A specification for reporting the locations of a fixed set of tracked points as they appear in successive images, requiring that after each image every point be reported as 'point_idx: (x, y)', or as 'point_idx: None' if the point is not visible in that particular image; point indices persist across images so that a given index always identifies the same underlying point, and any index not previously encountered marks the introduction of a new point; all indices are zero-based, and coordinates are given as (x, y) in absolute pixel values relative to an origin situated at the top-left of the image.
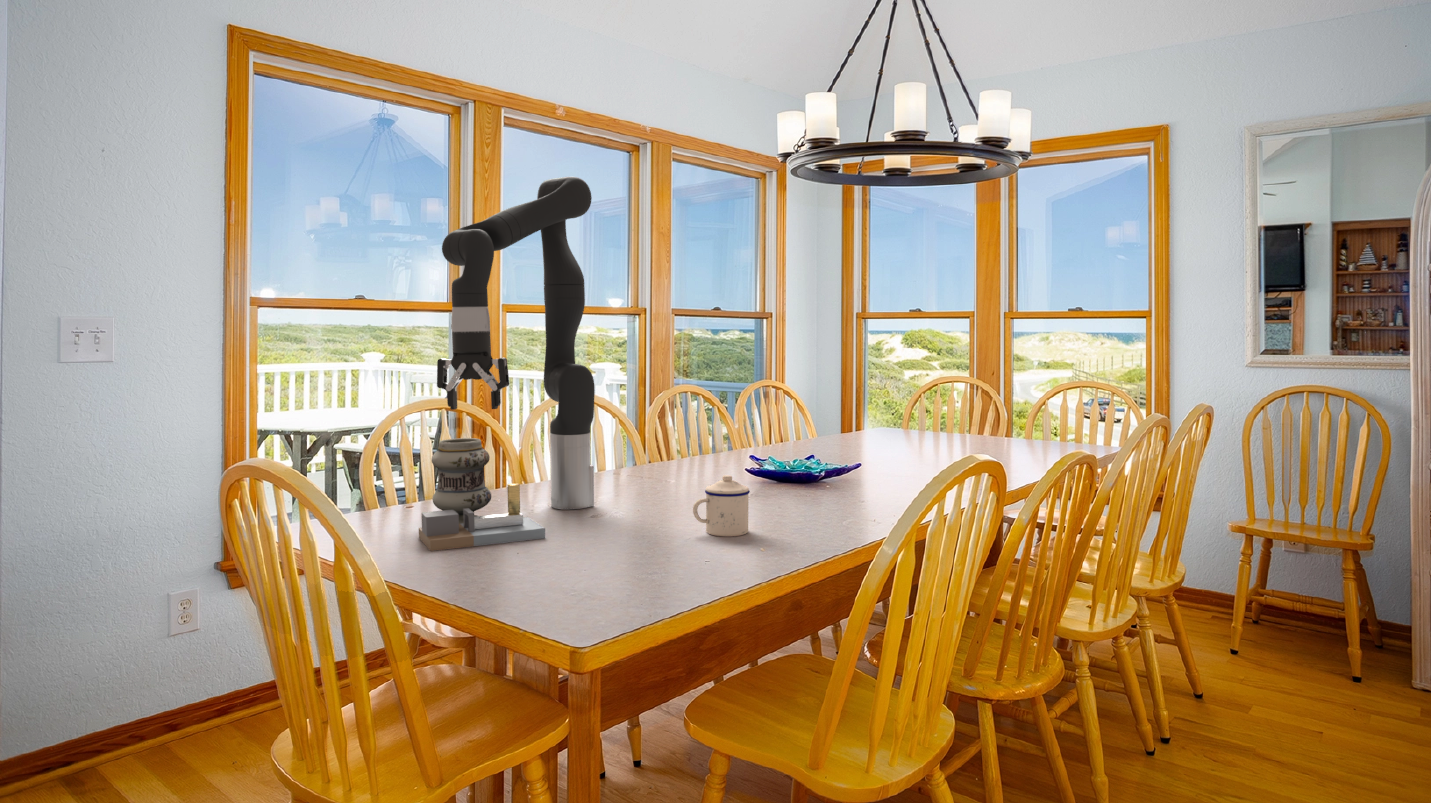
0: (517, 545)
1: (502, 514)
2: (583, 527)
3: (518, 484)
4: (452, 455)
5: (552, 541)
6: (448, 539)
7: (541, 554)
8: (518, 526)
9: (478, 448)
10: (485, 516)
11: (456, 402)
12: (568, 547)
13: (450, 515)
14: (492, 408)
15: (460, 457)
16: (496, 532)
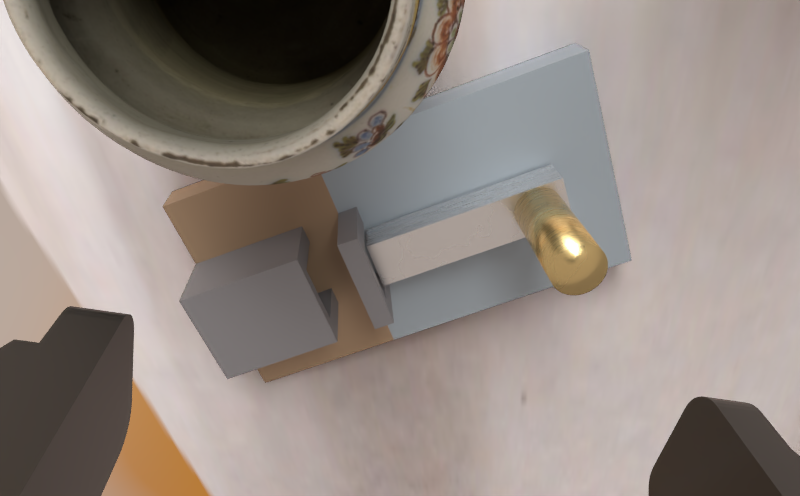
0: (524, 321)
1: (492, 212)
2: (782, 92)
3: (601, 269)
4: (215, 174)
5: (634, 285)
6: (318, 363)
7: (584, 413)
8: None
9: (397, 62)
10: (426, 240)
11: (97, 396)
12: (667, 354)
13: (309, 349)
14: (658, 493)
15: (279, 181)
16: (465, 304)
